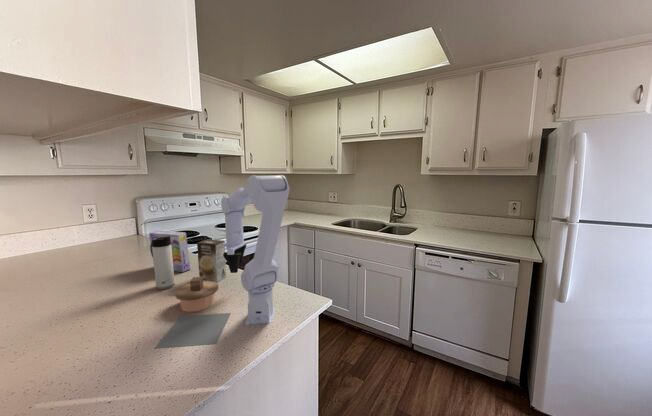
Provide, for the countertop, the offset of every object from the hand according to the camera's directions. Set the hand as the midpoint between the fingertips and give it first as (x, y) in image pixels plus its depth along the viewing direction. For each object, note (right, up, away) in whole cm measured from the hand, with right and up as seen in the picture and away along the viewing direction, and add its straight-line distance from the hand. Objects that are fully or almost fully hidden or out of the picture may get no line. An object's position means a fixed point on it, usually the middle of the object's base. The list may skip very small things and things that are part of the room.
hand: (236, 268), depth 93 cm
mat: (-5, -13, -19) cm, 24 cm away
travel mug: (-31, -10, +10) cm, 34 cm away
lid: (-11, -6, -6) cm, 14 cm away
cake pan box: (-40, -7, +29) cm, 50 cm away
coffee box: (-16, -8, +18) cm, 25 cm away
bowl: (-11, -11, -5) cm, 17 cm away
